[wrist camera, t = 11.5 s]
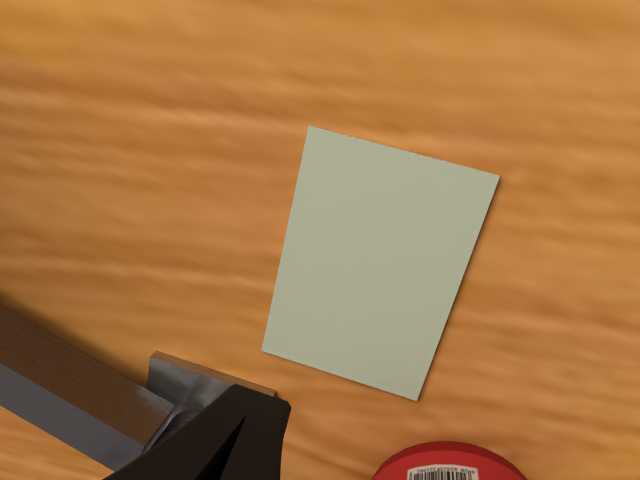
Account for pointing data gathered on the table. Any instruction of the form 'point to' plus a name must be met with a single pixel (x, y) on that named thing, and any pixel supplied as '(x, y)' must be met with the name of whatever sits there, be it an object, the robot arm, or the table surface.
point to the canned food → (447, 464)
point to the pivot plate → (190, 383)
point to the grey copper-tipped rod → (79, 396)
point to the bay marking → (373, 259)
